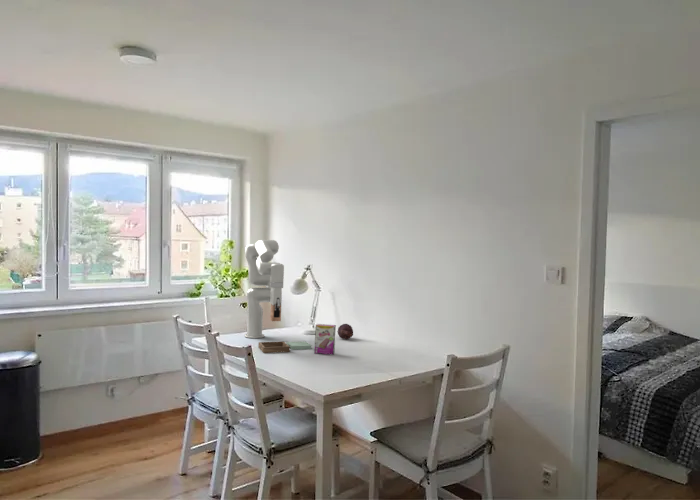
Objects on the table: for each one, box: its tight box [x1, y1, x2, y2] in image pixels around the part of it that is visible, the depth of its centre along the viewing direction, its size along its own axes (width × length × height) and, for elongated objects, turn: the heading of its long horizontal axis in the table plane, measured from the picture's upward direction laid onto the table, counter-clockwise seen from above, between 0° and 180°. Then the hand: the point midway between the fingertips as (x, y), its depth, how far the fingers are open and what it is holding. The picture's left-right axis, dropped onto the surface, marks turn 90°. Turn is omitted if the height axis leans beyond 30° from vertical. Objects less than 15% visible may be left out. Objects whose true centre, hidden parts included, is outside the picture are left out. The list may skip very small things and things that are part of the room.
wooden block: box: [269, 303, 282, 322], centre depth 302 cm, size 5×5×10 cm
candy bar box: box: [314, 323, 337, 355], centre depth 297 cm, size 11×5×16 cm, turn 84°
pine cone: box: [336, 323, 354, 340], centre depth 342 cm, size 18×10×10 cm, turn 20°
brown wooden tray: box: [257, 341, 291, 354], centre depth 302 cm, size 15×15×3 cm
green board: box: [286, 340, 313, 351], centre depth 312 cm, size 12×12×2 cm
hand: (275, 316), depth 302 cm, fingers closed on wooden block, 5 cm apart
